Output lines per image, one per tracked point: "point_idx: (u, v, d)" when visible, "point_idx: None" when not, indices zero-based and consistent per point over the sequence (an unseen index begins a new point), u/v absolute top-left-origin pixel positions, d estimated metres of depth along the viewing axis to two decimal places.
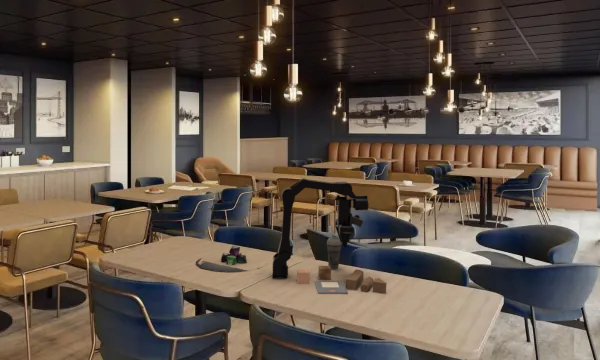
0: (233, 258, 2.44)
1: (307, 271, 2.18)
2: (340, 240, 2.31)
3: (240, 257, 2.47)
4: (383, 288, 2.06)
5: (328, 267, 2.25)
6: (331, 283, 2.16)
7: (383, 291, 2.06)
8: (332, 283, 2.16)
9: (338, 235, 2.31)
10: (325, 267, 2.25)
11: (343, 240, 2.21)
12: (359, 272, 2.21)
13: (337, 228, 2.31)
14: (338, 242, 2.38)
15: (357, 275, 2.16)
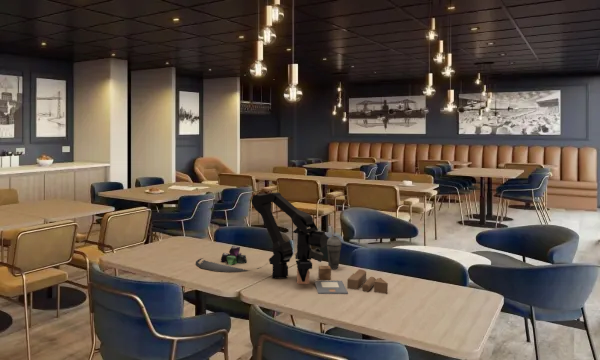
0: (233, 258, 2.44)
1: (307, 271, 2.18)
2: None
3: (240, 257, 2.47)
4: (384, 288, 2.06)
5: (328, 267, 2.25)
6: (331, 283, 2.16)
7: (384, 291, 2.06)
8: (332, 283, 2.16)
9: None
10: (325, 267, 2.25)
11: (301, 274, 2.15)
12: (362, 272, 2.22)
13: (297, 263, 2.22)
14: (338, 242, 2.38)
15: (359, 275, 2.17)
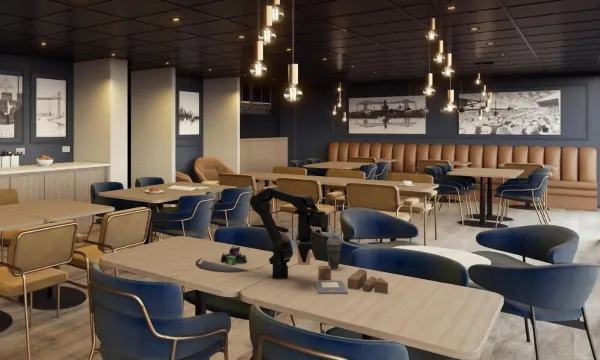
0: (233, 258, 2.44)
1: (308, 252, 2.17)
2: None
3: (240, 257, 2.47)
4: (385, 288, 2.06)
5: (328, 267, 2.25)
6: (331, 283, 2.16)
7: (385, 291, 2.06)
8: (332, 283, 2.16)
9: None
10: (325, 267, 2.25)
11: (302, 255, 2.14)
12: (362, 272, 2.22)
13: None
14: (338, 242, 2.38)
15: (360, 275, 2.17)
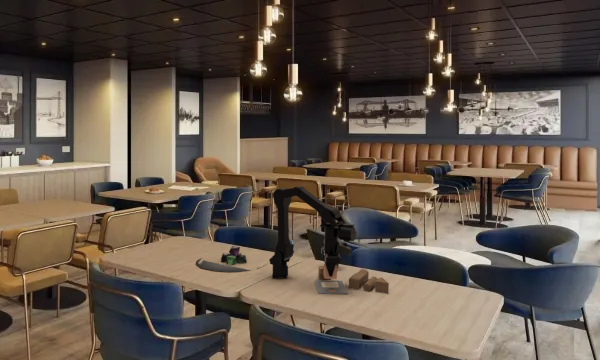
0: (233, 258, 2.44)
1: None
2: None
3: (240, 257, 2.47)
4: (385, 288, 2.06)
5: None
6: (331, 283, 2.16)
7: (385, 291, 2.06)
8: (332, 283, 2.16)
9: None
10: None
11: (329, 269, 2.09)
12: (364, 272, 2.22)
13: (324, 257, 2.16)
14: None
15: (361, 274, 2.17)
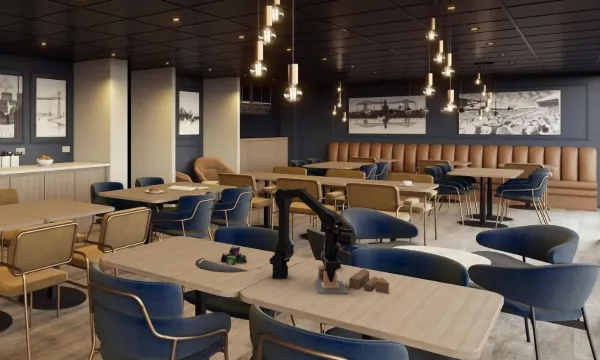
0: (233, 258, 2.44)
1: None
2: None
3: (240, 257, 2.47)
4: (386, 288, 2.06)
5: None
6: None
7: (386, 291, 2.06)
8: None
9: (325, 269, 2.17)
10: None
11: (329, 275, 2.09)
12: (364, 272, 2.22)
13: (324, 262, 2.17)
14: None
15: (362, 274, 2.17)
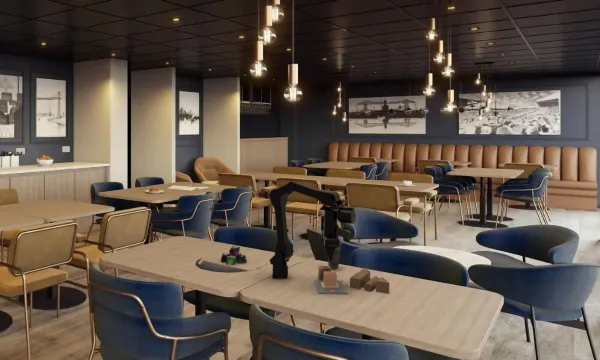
0: (233, 258, 2.44)
1: (334, 273, 2.13)
2: (326, 252, 2.19)
3: (240, 257, 2.47)
4: (386, 288, 2.06)
5: (328, 267, 2.25)
6: None
7: (386, 291, 2.06)
8: None
9: None
10: (325, 267, 2.25)
11: (328, 253, 2.09)
12: (365, 271, 2.23)
13: (323, 240, 2.19)
14: None
15: (362, 274, 2.17)
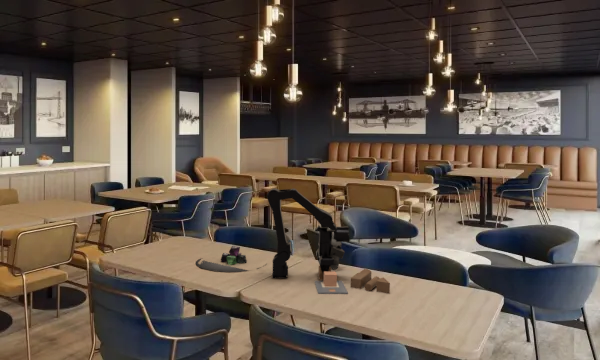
0: (233, 258, 2.44)
1: (334, 273, 2.13)
2: None
3: (240, 257, 2.47)
4: (387, 288, 2.06)
5: None
6: None
7: (387, 291, 2.07)
8: None
9: None
10: None
11: (323, 271, 2.22)
12: (366, 271, 2.23)
13: (319, 259, 2.28)
14: (338, 242, 2.38)
15: (363, 274, 2.18)
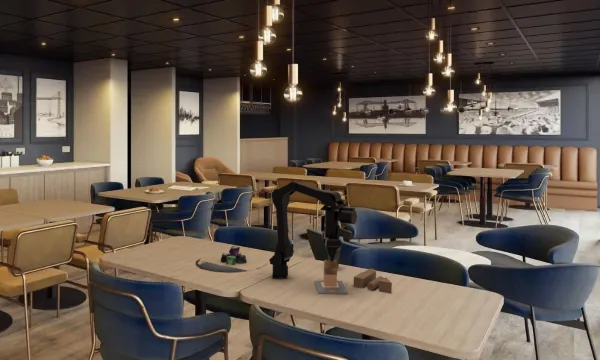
0: (233, 258, 2.44)
1: None
2: (327, 253, 2.17)
3: (240, 257, 2.47)
4: (389, 287, 2.07)
5: (334, 261, 2.13)
6: None
7: (389, 290, 2.07)
8: None
9: None
10: (331, 261, 2.13)
11: (330, 254, 2.07)
12: (371, 271, 2.23)
13: (324, 240, 2.17)
14: None
15: (367, 274, 2.18)
